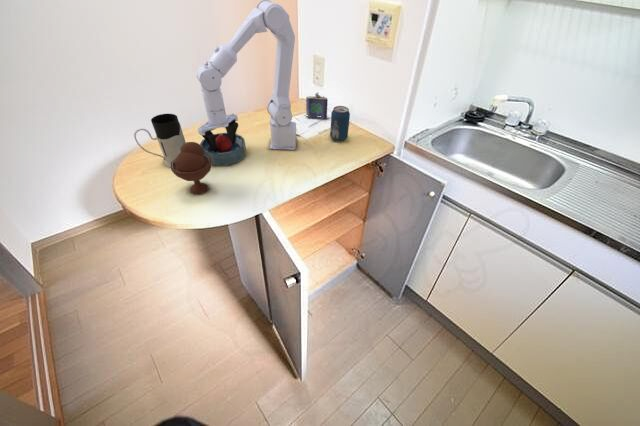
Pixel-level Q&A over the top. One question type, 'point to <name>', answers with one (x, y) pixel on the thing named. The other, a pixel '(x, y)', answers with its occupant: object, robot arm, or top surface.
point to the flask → (316, 107)
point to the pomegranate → (223, 143)
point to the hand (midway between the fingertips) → (223, 146)
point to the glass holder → (166, 136)
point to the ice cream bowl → (192, 166)
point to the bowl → (228, 157)
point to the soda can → (339, 123)
